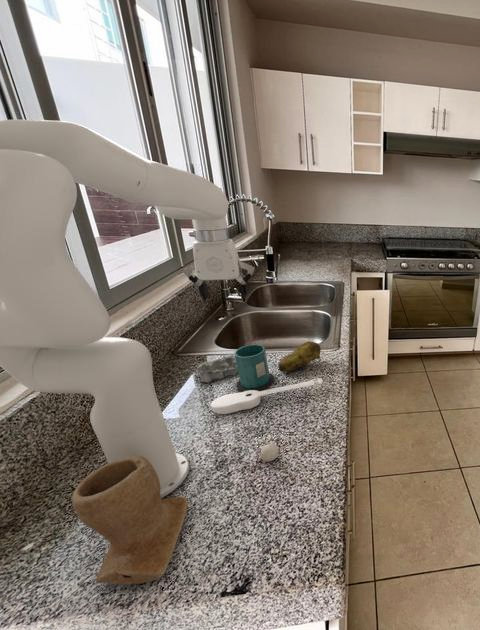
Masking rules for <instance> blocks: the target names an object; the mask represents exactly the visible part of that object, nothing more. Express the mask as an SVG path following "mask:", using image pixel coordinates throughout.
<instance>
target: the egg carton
mask: <svg viewBox="0 0 480 630" xmlns="http://www.w3.org/2000/svg"><path fill="white" fill-rule="evenodd" d="M196 369H197V375H198V376H199V378H200V382H201V383H210V382H212V381H213V380H216V379H219V380H221V379H224V378H225V377H226V376H229V375H230V376H236V375H237V374H238V369H237V364H236V359H235V355H234V354H231V355H229V356H227V357H223V358H218V359H214V360H212V361H204V362H203V361H202V362H201V363H200V364H198V366H197V367H196Z"/></svg>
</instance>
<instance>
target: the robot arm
mask: <svg viewBox="0 0 480 630" xmlns="http://www.w3.org/2000/svg"><path fill="white" fill-rule="evenodd" d="M76 184H79V185H82V186H84V187H88V188H90V189H94V190H96V191H99V192H102V193H104V194H108V195H110V196H113V197H116V198H118V199H121V200H123V201H127V202H129V203H135V204H139V205H145V206H153V207H155V208H156V210H157V211H158V212H159V213H160V214H161V215H163V216H164V217H166V218H169V219H173V220H181V221H183V220H188V221H190V220H191V223H192V226H193V229H192V230H190V231H188V236H189V237H192V238H194V239H195V241H192V254H193V264H191V265H190V266H188V267H185V268H184V269H183V270H182V273H183V274H184V275H185V276H186V277H187V278H188V280H189V281H190V282H192V283H193V284H194V285H195V287H197V289H198V291H199V297H202V300H203V301H207V300H208V299H209V298H210V291H209V287H208V284H207V282H206V281H226V280H227V281H229V280H230V281H231V280H236V281H237V282H238V283H239V285H238V287H239V293H240V297H241V299H246V298H247V295H249V287H248V281H249V280H250V279H251V278H252V277H253V275H254V272H255V269H256V268H255V267H254V266H253V265H250V264H249V263H246V262H243V261H241V260H240V256H239V253H238V249H237V247H236V245H235V242H234V240H233V239H231V238H230V233H229V229H228V223H227V218H226V215H227V214H228V212H229V202H228V198H227V196H226V194H225V193H224V191H223V190H222V189H221V188H220V187H219V186H218V185H216V184H215V183H213V182H212V181H210V180H208V179H207V178H205V177H203V176H200V175H198V174H195V173H193V172H190V171H187V170H183V169H181V168H178V167H177V168H176V167H173V166H170V165H167V164H164V163H161V162H157V161H153V160H150V159H147V158H145V157H143V156H141V155H139V154H137V153H136V152H133V151H131V150H130V149H128V148H126V147H124V146H122V145H121V144H119V143H116V142H115V141H114V140H111V139H110V138H107V137H106V136H104V135H102V134H100V133H98V132H97V131H95V130H93V129H91V128H89V127H86V126H85V125H81V124H79V123H76V122H72V121H71V122H70V121H65V120H46V119H4V120H0V368H1V369H3V371H5V372H6V373H7V374H8V375H9V376H11V377H12V378H13V379H14V380H15V381H17V382H18V383H19V384H21V385H22V386H24V387H25V388H27V389H29V390H32V391H34V392H37V393H44V394H78V395H79V394H80V395H89V396H92V397H93V398H94V403H93V405H92V408H91V410H90V413H89V420H90V424H91V427H92V430H93V432H94V434H95V436H96V438H97V440H98V444H99V445H100V447H101V450H102V452H103V455H104V456H105V459H106V461H107V464H108V463H110V462H112V461H115V460H118V459H120V458H124V457H128V456H141V457H144V458H146V459H147V460H148V461H149V462H150V463H151V465H152V466H153V468H154V470H155V471H156V473H157V476H158V479H159V481H160V495H161V499H164V498H165V497H166V496H168V495H169V494H171V493H172V492H173V491H175V490H176V489H177V488H178V487H179V486H180V485H182V483H183V482H184V480H185V479H186V478H187V476H188V475H189V471H190V463H189V461H188V458H187V457H186V456H185V455H183V454H182V453H177V452H175V447H174V445H173V441H172V439H171V436H170V433H169V430H168V427H167V423H166V420H165V418H164V415H163V414H164V413H163V411H162V408H161V406H160V402H159V399H158V397H157V393H156V389H155V384H154V376H153V359H152V354H151V352H150V350H149V349H148V347H147V346H145V345H144V344H143V343H142V342H139V341H138V340H136V339H132V338H128V337H120V336H106V335H107V334H108V332H109V331H110V328H111V318H110V315H109V313H108V310H107V308H106V306H105V305H104V303H103V302H102V301H101V299H100V298H99V297H98V295H97V294H96V292H95V291H94V289H93V288H92V287H91V285H90V283H88V281H87V280H86V278H85V277H84V275H82V273H81V271H80V269H78V267H77V266H76V264H75V263H74V260H73V259H72V258H71V256H70V254H69V252H68V250H67V249H68V248H67V245H66V233H67V229H68V225H69V222H70V218H71V216H72V213H73V211H74V209H75V207H76V203H77V199H78V190H77V185H76ZM194 270H195V274H196V275H195V274H194V273H193V271H194ZM243 270H245V271H247V273H246V275H244V274H243Z"/></svg>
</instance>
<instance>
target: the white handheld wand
mask: <svg viewBox="0 0 480 630" xmlns="http://www.w3.org/2000/svg"><path fill="white" fill-rule="evenodd" d="M323 383H324V381H323V379H322V378H320V377H319V378H314V379H313V378H312V379H311V380H307V381H302V382H299V383H294V384H289V385H284V386H279V387H274V388H268V389H265V390H262V391H256V390H249V391H244V392H241V391H240V392H235V393H234V392H233V393H228V394H224V395H222V396H219V397H217V398H215V399H213V400H212V401H211V403H210V406H211V410H212V412H214V413H216V415H226V414H227V415H228V414H232V413H236V412H239V411H243V410H244V411H245V410H250V409H253V408H255V407H258V405H260V403H261V400H262V397H264V396H267V395H272V394H276V393H281V392H286V391H291V390H295V389H300V388H301V389H302V388H305V387H306V388H307V387H311V386H312V387H313V386H314V387H315V386H320V385H322V384H323Z"/></svg>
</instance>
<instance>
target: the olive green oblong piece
mask: <svg viewBox="0 0 480 630" xmlns="http://www.w3.org/2000/svg"><path fill="white" fill-rule="evenodd" d="M321 351H322V349H321V345H320V344H319V343H318V342H315V341H306V342H303V343H302V344H301V345H298V346H297V348H295V349H294V350H293V351H292V352H291V353H290V354H287V355H286V356H285V357H283V358H282V359H280V361H279V362H278V370H279V371H280V372H282V373H291V372H292V371H295V370H298V369H301V368H304V367H305V366H307V365H309V364H310V363H311V362H313V361H316V360H318V359H320V357H321V356H320V355H321Z"/></svg>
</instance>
